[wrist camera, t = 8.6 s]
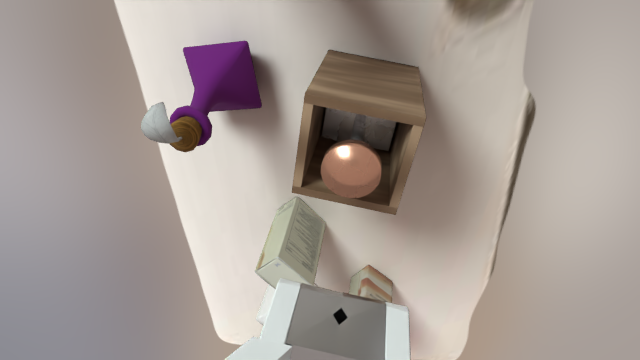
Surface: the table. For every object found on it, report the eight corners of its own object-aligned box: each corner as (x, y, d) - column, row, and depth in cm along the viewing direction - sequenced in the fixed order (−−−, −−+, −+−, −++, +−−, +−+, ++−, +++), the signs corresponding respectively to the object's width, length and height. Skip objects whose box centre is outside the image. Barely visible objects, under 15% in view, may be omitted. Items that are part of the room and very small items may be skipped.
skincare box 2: (393, 281, 62) (393, 337, 53) (374, 294, 64) (371, 350, 55) (368, 262, 60) (363, 317, 52) (349, 277, 63) (341, 331, 54)
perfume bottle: (269, 97, 49) (213, 174, 34) (212, 102, 50) (134, 177, 35) (256, 33, 45) (186, 88, 30) (194, 40, 46) (98, 95, 31)
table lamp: (333, 69, 43) (310, 121, 31) (406, 84, 42) (409, 141, 31) (322, 134, 47) (299, 200, 36) (388, 148, 46) (386, 219, 35)
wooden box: (328, 49, 45) (304, 93, 33) (418, 67, 44) (426, 118, 32) (316, 130, 50) (291, 192, 38) (395, 146, 50) (395, 214, 38)
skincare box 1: (276, 209, 58) (250, 270, 48) (297, 194, 56) (275, 254, 46) (306, 238, 60) (288, 302, 50) (328, 224, 58) (314, 289, 48)
